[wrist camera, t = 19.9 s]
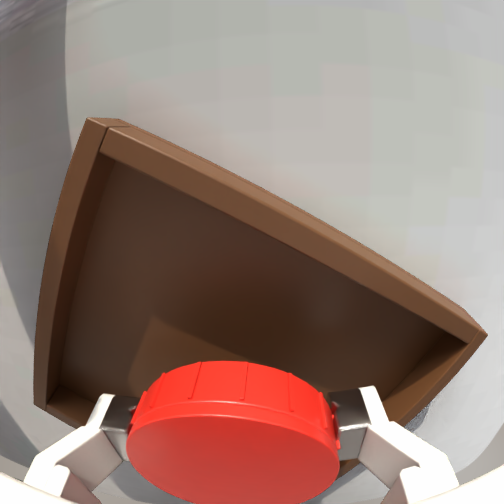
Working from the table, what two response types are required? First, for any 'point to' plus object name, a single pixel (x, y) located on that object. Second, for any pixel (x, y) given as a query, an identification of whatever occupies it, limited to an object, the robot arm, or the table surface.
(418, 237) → the table surface
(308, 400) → the lid
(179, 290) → the tray
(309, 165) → the table surface
